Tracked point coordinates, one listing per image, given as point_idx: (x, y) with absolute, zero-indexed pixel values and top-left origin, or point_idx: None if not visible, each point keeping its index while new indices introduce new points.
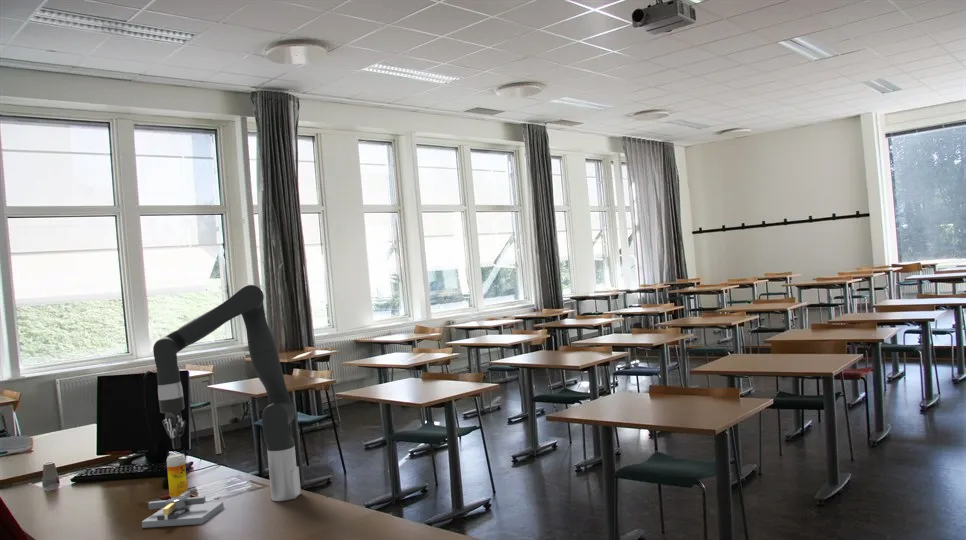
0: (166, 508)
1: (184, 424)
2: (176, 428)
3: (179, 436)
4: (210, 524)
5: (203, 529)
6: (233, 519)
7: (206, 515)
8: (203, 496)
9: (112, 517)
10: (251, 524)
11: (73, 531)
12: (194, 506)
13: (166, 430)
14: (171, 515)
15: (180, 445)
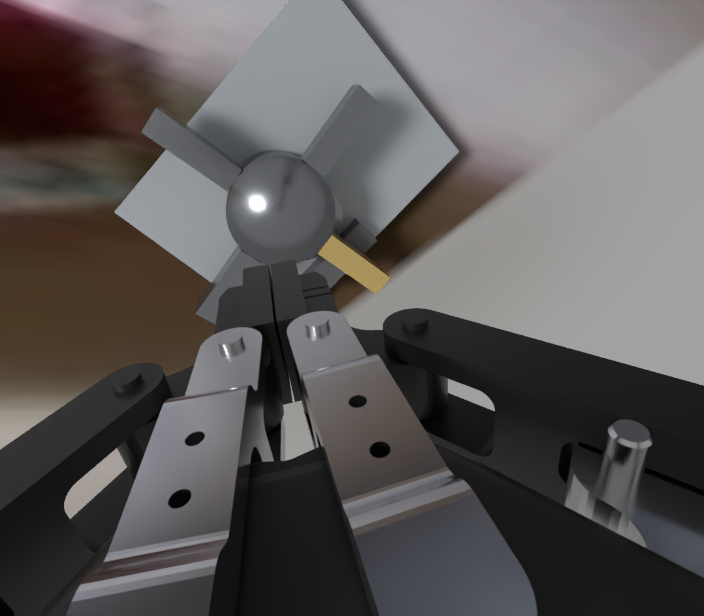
0: (383, 281)
1: (701, 409)
2: (541, 482)
3: (356, 335)
4: (484, 127)
5: (509, 167)
6: (521, 30)
7: (434, 121)
8: (356, 94)
9: (9, 389)
10: (644, 8)
11: (102, 489)
12: (259, 116)
13: (95, 540)
14: (366, 250)
15: (323, 277)
